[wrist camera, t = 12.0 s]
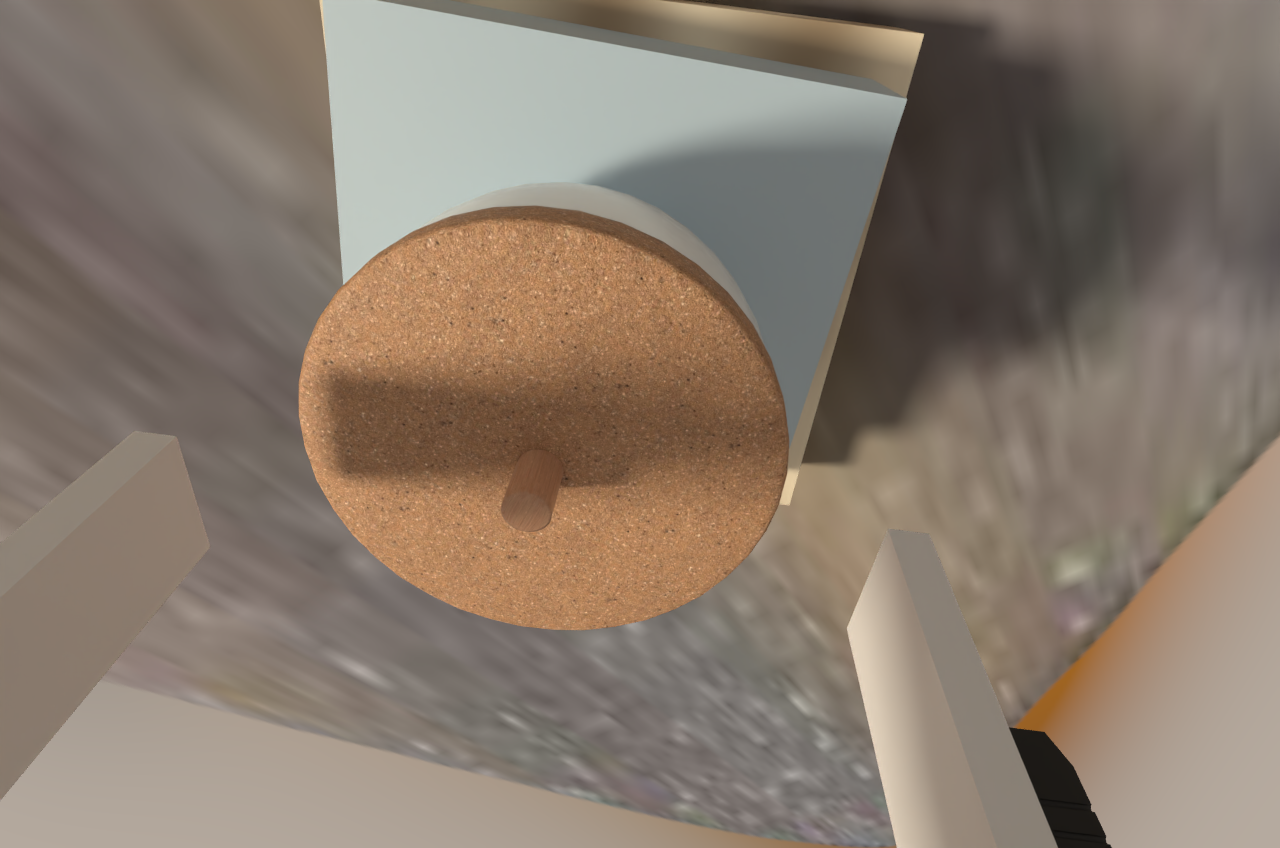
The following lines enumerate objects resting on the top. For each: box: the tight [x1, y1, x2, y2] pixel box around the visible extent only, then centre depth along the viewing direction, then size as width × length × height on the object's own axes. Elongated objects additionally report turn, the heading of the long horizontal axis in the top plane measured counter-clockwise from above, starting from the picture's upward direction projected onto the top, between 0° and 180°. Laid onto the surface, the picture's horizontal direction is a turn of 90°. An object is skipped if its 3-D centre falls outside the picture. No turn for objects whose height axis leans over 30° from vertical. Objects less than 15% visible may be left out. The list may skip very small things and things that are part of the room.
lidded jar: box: [299, 182, 789, 630], centre depth 18 cm, size 11×11×9 cm
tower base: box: [320, 0, 924, 505], centre depth 27 cm, size 18×18×4 cm
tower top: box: [322, 0, 907, 448], centre depth 24 cm, size 15×15×4 cm
